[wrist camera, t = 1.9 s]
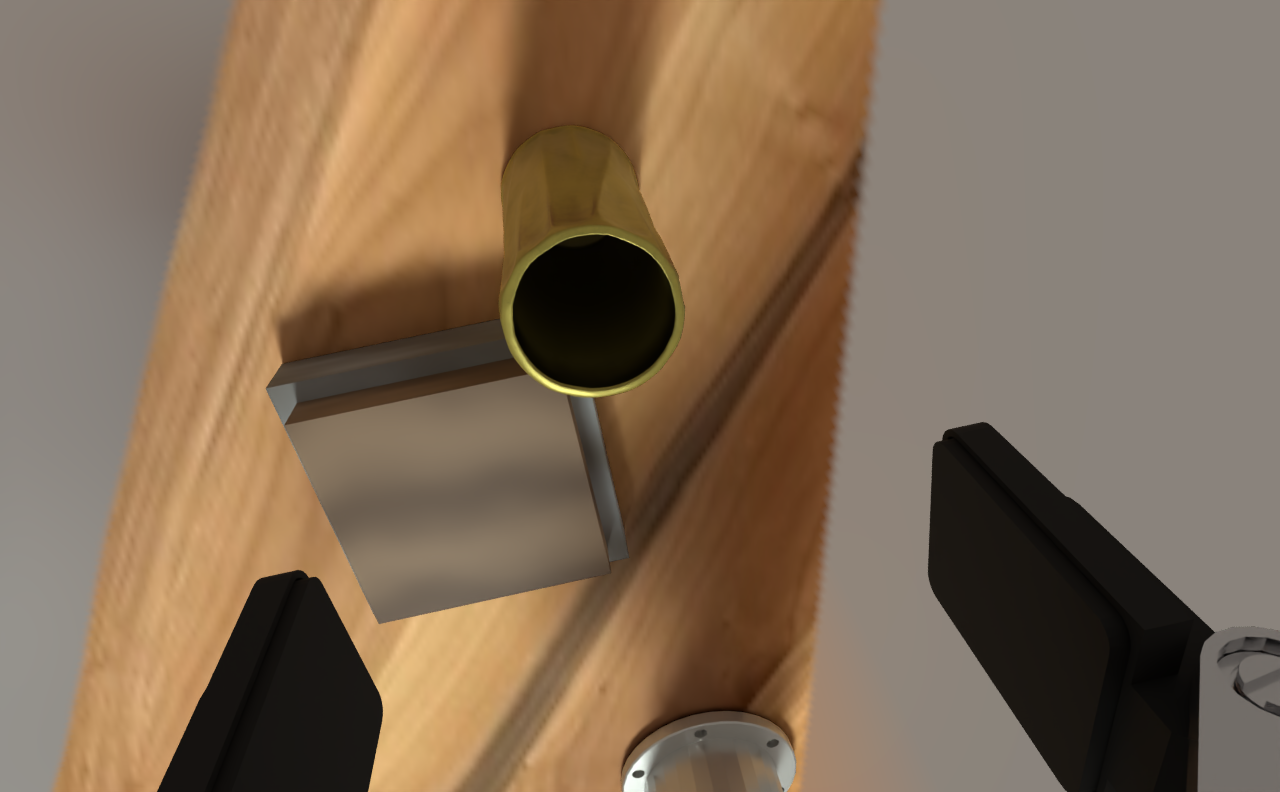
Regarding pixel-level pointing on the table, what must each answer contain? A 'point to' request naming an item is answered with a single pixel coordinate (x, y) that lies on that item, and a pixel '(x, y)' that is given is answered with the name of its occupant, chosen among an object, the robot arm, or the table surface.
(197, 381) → the table surface
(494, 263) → the table surface
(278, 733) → the robot arm
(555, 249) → the vase
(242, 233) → the table surface
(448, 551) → the stand
